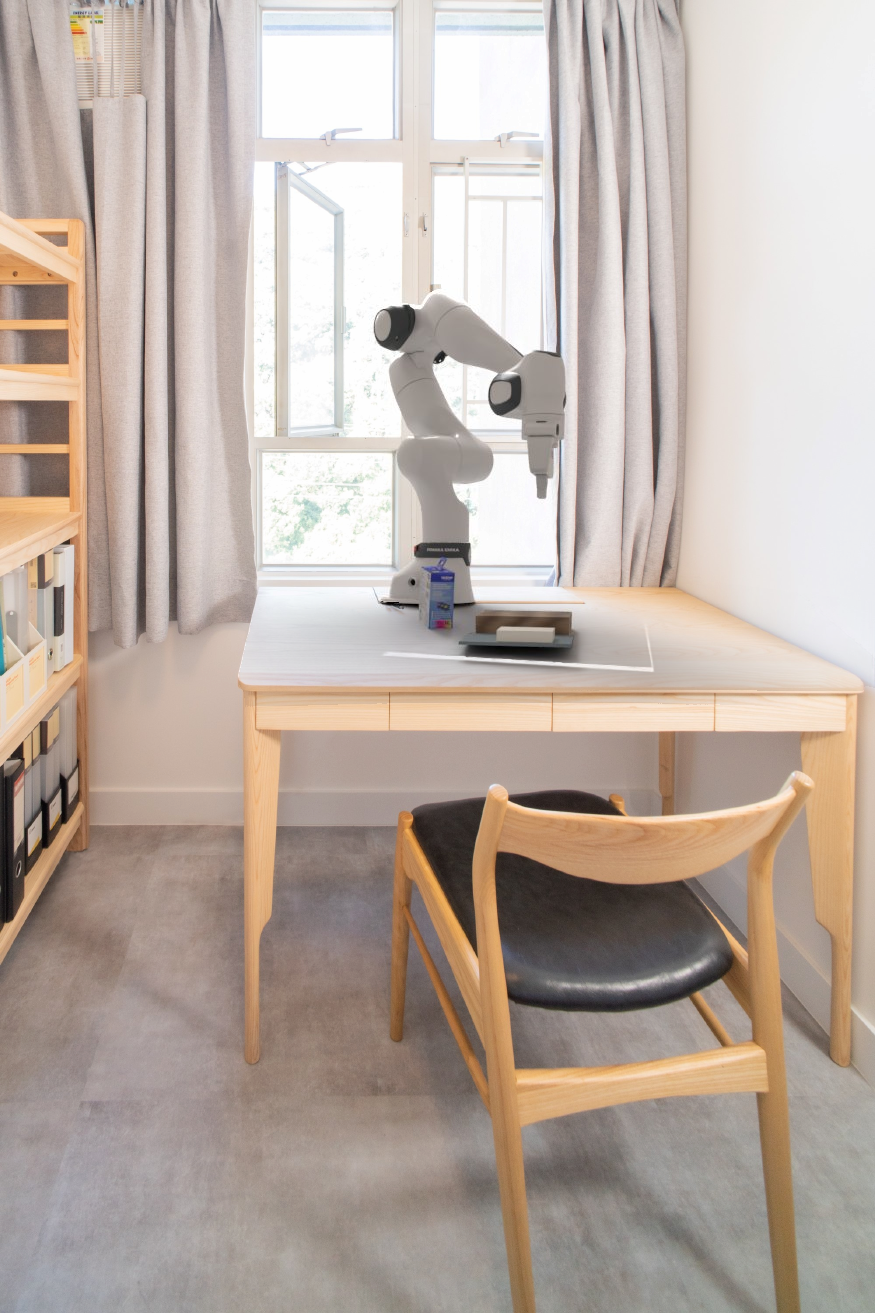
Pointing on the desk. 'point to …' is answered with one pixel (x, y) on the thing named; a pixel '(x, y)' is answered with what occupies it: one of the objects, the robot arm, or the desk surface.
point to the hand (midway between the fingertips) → (541, 498)
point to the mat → (491, 640)
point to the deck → (524, 620)
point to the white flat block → (526, 634)
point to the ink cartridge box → (436, 596)
